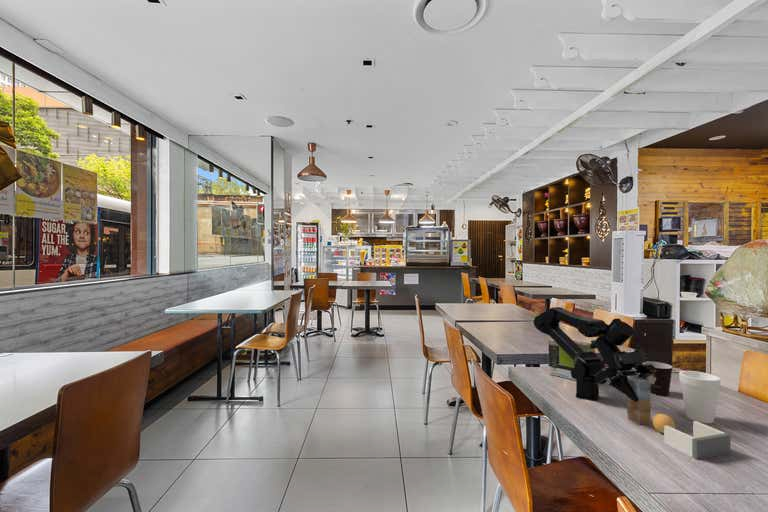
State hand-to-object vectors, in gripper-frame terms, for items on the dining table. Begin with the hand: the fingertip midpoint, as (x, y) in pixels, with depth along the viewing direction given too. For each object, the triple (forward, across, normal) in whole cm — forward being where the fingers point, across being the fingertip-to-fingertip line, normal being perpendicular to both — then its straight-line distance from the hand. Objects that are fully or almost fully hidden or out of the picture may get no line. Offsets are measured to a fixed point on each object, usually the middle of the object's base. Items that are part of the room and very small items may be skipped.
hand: (643, 400), depth 108 cm
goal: (+15, 0, -6) cm, 16 cm away
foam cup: (+6, +19, +4) cm, 20 cm away
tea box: (-24, +11, +34) cm, 43 cm away
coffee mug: (-9, +28, +18) cm, 34 cm away
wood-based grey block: (+4, 0, +6) cm, 7 cm away
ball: (+7, 0, -1) cm, 7 cm away
